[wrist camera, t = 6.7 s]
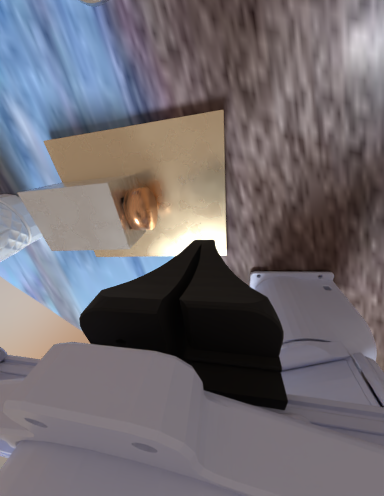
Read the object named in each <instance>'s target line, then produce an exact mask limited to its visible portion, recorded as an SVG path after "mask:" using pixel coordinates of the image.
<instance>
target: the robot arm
mask: <svg viewBox="0 0 384 496" xmlns="http://www.w3.org/2000/svg"><path fill="white" fill-rule="evenodd" d="M257 275H259V276H257ZM319 275H321V276H319ZM333 279H334V274H333V273H332V272H272V271H254V272H251V274H250V286H248V285H247V284H245V283H244V282H243V281H242V280H240V279H239V278H238V277H237V276H236V275H235V274H234V273H233V272H232V271H231V270H230V269H229V268H228V266H227V265H226V264H225V262H224V261H223V259H222V258H221V256H220V254H219V252H218V250H217V248H216V245H215V241H214V240H213V239H210V240H194V241H192V242H191V243H190V244H189V245H188V246H187V247H186V248H185V249H184V250H182V251H181V252H180V253H179V254H178V255H176V256H175V257H174V258H173V259H171V260H170V261H168V262H167V263H166V264H164V265H162V266H161V267H159V268H157V269H155V270H153V271H152V272H150V273H148V274H146V275H144V276H141V277H139V278H137V279H134V280H132V281H129V282H126V283H123V284H120V285H117V286H114V287H111V288H107V289H104V290H101V291H100V293H99V294H98V295H97V296H96V297H95V298H94V300H93V301H92V302H91V303H90V304H89V305H88V307H87V308H86V309H85V310H84V311H83V312H82V313H81V316H80V318H79V320H80V327H81V329H82V331H83V333H84V334H85V336H86V337H87V339H88V340H89V342H90V343H91V344H85V343H77V342H69V343H59V344H55V345H53V346H52V347H51V349H50V350H49V351H48V352H47V353H46V354H45V355H44V357H43V358H42V359H41V360H40V359H33V358H26V357H18V356H12V355H7V353H6V352H5V350H3V349H2V348H1V347H0V456H2V457H6V458H8V460H7V461H6V462H5V464H4V465H3V467H2V468H1V470H0V496H384V372H383V371H382V369H381V368H380V367H379V365H378V364H377V363H376V355H377V350H376V344H375V340H374V338H373V335H372V332H371V330H370V328H369V326H368V325H367V323H366V321H365V320H364V319H363V317H362V316H361V315H360V314H359V312H358V311H357V310H356V309H355V307H354V306H353V305H352V304H351V303H350V301H349V300H348V299H347V298H346V296H345V295H344V294H343V293H342V292H341V290H340V289H339V288H338V287H337V285H336V284H335V283H334V282H333Z"/></svg>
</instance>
